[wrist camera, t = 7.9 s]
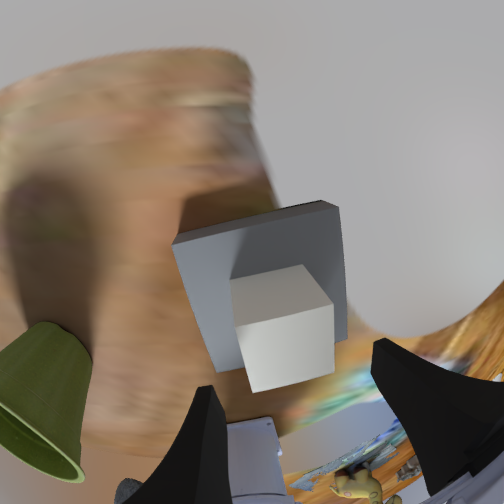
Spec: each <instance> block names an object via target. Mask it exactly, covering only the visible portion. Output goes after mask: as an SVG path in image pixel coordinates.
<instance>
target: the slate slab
mask: <svg viewBox="0 0 504 504" xmlns="http://www.w3.org/2000/svg"><path fill="white" fill-rule="evenodd" d="M281 209H282V210H277V211H272V212H268V213H263V214H259V215H254V216H250V217H246V218H241V219H237V220H233V221H228V222H224V223H220V224H216V225H212V226H208V227H204V228H199V229H195V230H191V231H187V232H183V233H179V234H177V236H176V238H175V239H174V241H173V243H172V245H171V246H172V249H173V252H174V256H175V259H176V262H177V265H178V268H179V271H180V275H181V278H182V281H183V284H184V287H185V290H186V293H187V295H188V298H189V301H190V304H191V307H192V310H193V312H194V315H195V318H196V321H197V323H198V326H199V329H200V331H201V334H202V337H203V339H204V342H205V345H206V347H207V350H208V352H209V355H210V357H211V360H212V362H213V365H214V367H215V370H216V372H217V373H219V372H224V371H229V370H234V369H239V368H244V367H245V364H244V360H243V357H242V353H241V349H240V345H239V342H238V338H237V334H236V330H235V326H234V317H233V309H232V300H231V291H230V281H229V280H232V279H236V278H241V277H246V276H251V275H255V274H260V273H265V272H269V271H274V270H278V269H283V268H288V267H292V266H297V265H301V264H303V265H304V267H305V268H306V269H307V271H308V272H309V273H310V274H311V276H312V277H313V278H314V279H315V281H316V282H317V283H318V284H319V286H320V287H321V288H322V290H323V291H324V292H325V293H326V295H327V296H328V297H329V299H330V300H331V301H332V302H333V304H334V343H337V342H340V341H343V340H346V339H347V301H346V281H345V266H344V254H343V242H342V232H341V222H340V214H339V207H338V206H335V205H333V204H330V203H328V202H326V201H323V200H317V201H312V202H307V203H302V204H297V205H293V206H288V207H283V208H281Z"/></svg>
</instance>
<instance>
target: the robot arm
mask: <svg viewBox="0 0 504 504" xmlns="http://www.w3.org/2000/svg"><path fill="white" fill-rule="evenodd" d="M371 375H372V377H373V379H374V381H375V383H376V385H377V387H378V389H379V391H380V392H381V394H382V395H383V397H384V398H385V400H386V402H387V403H388V404H389V406H390V407H391V409H392V410H393V412H394V413H395V415H396V416H397V418H398V419H399V421H400V422H401V424H402V426H403V428H404V429H405V431H406V433H407V436H408V438H409V440H410V442H411V444H412V446H413V449H414V451H415V454H416V456H417V459H418V461H419V464H420V467H421V470H422V473H423V476H424V479H425V483H426V486H427V491H428V493H429V495H430V496H431V497H430V498H429V499H427V500H425V501H424V502H422V503H420V504H443V503H445V502H446V501H447V503H446V504H502V503H503V502H504V382H497V381H488V380H482V379H477V378H472V377H468V376H464V375H461V374H458V373H455V372H452V371H449V370H446V369H444V368H441V367H439V366H437V365H435V364H433V363H430V362H428V361H426V360H424V359H422V358H420V357H419V356H417V355H415V354H413V353H411V352H409V351H408V350H406V349H404V348H402V347H401V346H399V345H397V344H396V343H394V342H392V341H390V340H389V339H387V338H382V339H380V340H377V341H375V342H374V343H373V354H372V364H371ZM280 455H282V450H281V447H280V443H279V440H278V436H277V433H276V429H275V426H274V422H273V419H272V417H264V418H259V419H254V420H249V421H243V422H237V423H231V424H226V417H225V412H224V410H223V407H222V405H221V403H220V401H219V399H218V397H217V394H216V392H215V390H214V388H213V386H212V385H209V386H202V387H198V388H197V390H196V393H195V396H194V399H193V401H192V404H191V406H190V409H189V411H188V414H187V416H186V418H185V420H184V423H183V425H182V427H181V429H180V431H179V433H178V435H177V437H176V439H175V440H174V442H173V444H172V446H171V448H170V449H169V451H168V452H167V454H166V456H165V457H164V459H163V460H162V461H161V463H160V464H159V466H158V467H157V468H156V469H155V471H154V472H153V473H152V474H151V476H150V477H149V478H148V479H147V480H146V481H145V482H144V483H143V484H142V485H141V486H140V488H139V489H138V490H137V491H136V492H135V493H133V494H132V495H131V496H130V497H129V498H128V499H126V500H125V501H124V502H123V503H122V504H303V503H301V502H295V501H294V497H293V495H290V496H287V492H286V487H285V483H284V479H283V475H282V470H281V466H280V462H279V457H278V456H280Z"/></svg>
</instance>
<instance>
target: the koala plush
mask: <svg viewBox="0 0 504 504" xmlns="http://www.w3.org/2000/svg"><path fill="white" fill-rule="evenodd" d="M142 484H143V483H142V482H140V481H137V480H135V479H134V480H133V479H130V478H128V479H127V478H125V479H124V480H123V481H121V483H120V484H119V486H118V488H117V490H116V494H115V499H114V504H122V503H123V502H124V501H125V500H126V499H128V498H129V497H130V496H131V495H132V494H133V493H135V492H136V491H137V490H138V489H139V488H140V486H141V485H142Z"/></svg>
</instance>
